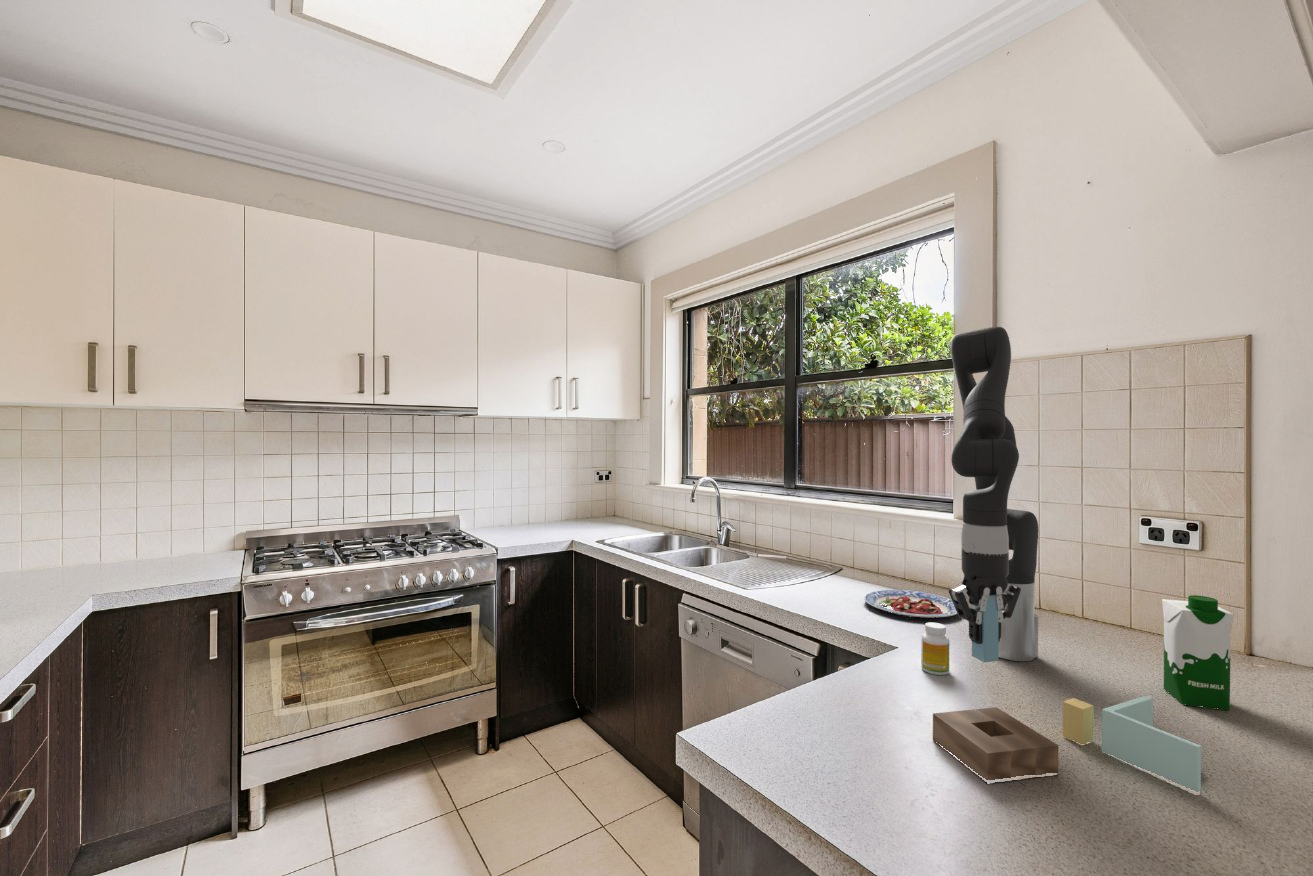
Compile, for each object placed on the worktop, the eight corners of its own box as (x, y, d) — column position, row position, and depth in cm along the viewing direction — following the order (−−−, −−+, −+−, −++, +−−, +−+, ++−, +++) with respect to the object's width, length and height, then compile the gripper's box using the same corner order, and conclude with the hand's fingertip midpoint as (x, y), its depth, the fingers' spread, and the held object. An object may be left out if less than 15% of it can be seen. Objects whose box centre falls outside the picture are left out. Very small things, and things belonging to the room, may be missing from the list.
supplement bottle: (952, 676, 120) (953, 630, 120) (924, 674, 121) (925, 628, 121) (945, 666, 125) (945, 622, 125) (918, 664, 126) (918, 620, 126)
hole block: (996, 733, 97) (996, 707, 97) (1058, 775, 85) (1058, 745, 85) (932, 740, 95) (932, 713, 95) (987, 784, 83) (987, 753, 83)
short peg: (1073, 733, 97) (1073, 698, 97) (1093, 741, 95) (1093, 705, 94) (1062, 737, 96) (1063, 701, 96) (1082, 746, 93) (1082, 709, 93)
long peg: (985, 654, 107) (985, 590, 107) (998, 660, 104) (998, 595, 104) (971, 656, 107) (971, 591, 106) (984, 662, 104) (983, 596, 103)
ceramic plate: (965, 605, 170) (965, 595, 170) (957, 630, 148) (957, 619, 148) (874, 592, 184) (874, 583, 184) (854, 613, 162) (854, 603, 162)
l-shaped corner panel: (1197, 800, 80) (1197, 747, 80) (1101, 756, 91) (1102, 709, 91) (1240, 779, 85) (1241, 729, 85) (1145, 740, 96) (1145, 695, 96)
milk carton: (1179, 706, 107) (1180, 599, 107) (1155, 686, 115) (1156, 587, 115) (1239, 714, 104) (1240, 604, 104) (1210, 693, 112) (1211, 591, 112)
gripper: (1001, 542, 110) (1001, 631, 110) (936, 546, 107) (937, 637, 108) (1034, 550, 103) (1034, 646, 103) (965, 554, 100) (966, 653, 100)
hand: (984, 641), depth 105 cm, fingers closed on long peg, 3 cm apart
